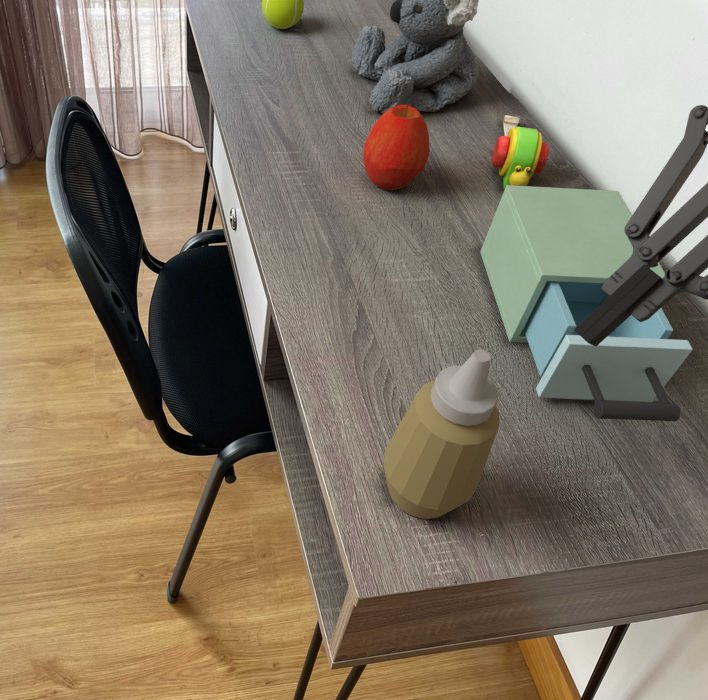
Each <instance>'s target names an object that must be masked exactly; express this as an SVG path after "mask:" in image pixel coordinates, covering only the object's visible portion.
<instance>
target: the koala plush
mask: <svg viewBox="0 0 708 700" xmlns="http://www.w3.org/2000/svg"><path fill="white" fill-rule="evenodd" d="M479 1H480V0H394V2H392V4H391V5H390V9H389V18H390V20H391V21H392V22H394V23H395V24H396V25H397V26H398V28H399V31H400V32H401V33H399V35H398V36H397V37H396V38H394V39H393V40H391V42H390V43H389V44H388V45H387V46H386V36H385V31H384V30H383V28H381V27H379V26H378V25H373V26H372V25H365V26H364V27H363V28H362V29H361V32H360V33H359V36H358V37H357V40H356V42H355V44H354V47H353V49H352V53H351V65H352V67H353V68H354V70H355V71H356V72H357V73H358V76H361V77H364V78H366V79H371V80H373V81H378V82H377V84H376V85H374V88H373V89H372V91H371V92H370V96H369V97H370V98H369V105H370V106H371V109H372V110H373V111H375V112H376V113H378V112H379V113H381V114H382V115H383V114H384V113H385V112H386V111H388V110H389V109H390V108H393V107H395V106H398V105H409V106H411V107H413V108H415V109H416V110H417V111H418V112H419V113H420V112H425V113H429V112H430V113H434V112H438V111H441V109H443V108H445V105H446V106H447V105H452V104H454V103H456V102H457V101H459V100H461V99H462V98H464V97H465V96H466V95H468V93H469V92H470V91H471V90H472V88H473V87H474V85H476V82H477V80H478V74H479V68H478V63H477V59H476V57H475V54H474V52H473V50H472V49H471V47H470V46H469V44H468V40H467V38H466V37H465V35H464V27H465V25H466V23H467V22H469V21H471V22H472V21H473V19H474V17H475V16H476V15H477V13H478V6H479Z"/></svg>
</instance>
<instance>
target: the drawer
mask: <svg viewBox="0 0 708 700" xmlns="http://www.w3.org/2000/svg"><path fill="white" fill-rule="evenodd" d="M602 286H603V284H601V283H580V282H559V281H547V282H546V284H545V286H544V288H543V290H542V292H541V294H540V296H539V298H538V300H537V302H536V304H535V306H534V308H533V310H532V312H531V314H530V316H529V318H528V320H527V322H526V324H525V326H524V328H523V329H524V332H525V335H526V337H527V340H528V343H527V344H528V346H529V348H530V352H531V354H532V357H533V360H534V363H535V366H536V368H537V372H538V374H539V376H540V377H541V378H540V380H539V382H538V383H537V386H536V387H535V391H536V394H537V396H538V398H540V399H562V400H563V399H566V400H589V401H590V400H591V401H594V404H593V407H592V411H593V414H594V417H595V418H596V419H597V420H598V419H600V420H601V419H602V420H624V421H626V420H627V421H650V422H674V423H675V422H678V421H679V420H680V417H681V414H682V413H681V412H682V411H681V407H680V406H679V404H678V403H675V402H671V401H670V399H669V397H668V395H667V393H666V391H665V389H664V388H665V386H666V385H667V384H668V383H669V381H670V380H671V379H672V378H673V376H674V375H675V373H676V372H677V371H678V370H679V368H680V367H681V366H682V364H683V363H684V362H685V360H686V359H687V358H688V357H689V355H690V354H691V352H692V351H693V347H692V345H691V343H690V342H689V340H688V339H674V338H673V339H671V338H670V336H671V335H672V333H673V332H674V329H673V326H672V325H671V323H670V321H669V319H668V318H667V316H666V314H665V311H664V310H663V307H662V308H660V309H659V310H658V311H657V312H656V313H655V314H654V315H653V316H651V317H650V318H649V319H648V320H645V321H643V322H639V321H638V320H637V319H635V318H634V317H633V316H632V315H631V316H629V317H628V318H627V319H626V320H625V321H624V322H623V323H622V324H621V325H620V326H618V327H617V328H616V329H615V330H614V331H613V332H612V333H611V334H610V335H608V336H607V337H606V338H605V339H604V340H603V341H602V342H601V343H600V344H599V345H597V346H593V345H591V344H589V343H588V342H586V341H585V340H584V339H583V338H582V337H581V336H580V335H579V334H578V333H577V332H576V331H575V330H574V329H575V328H576V327H577V326H578V325H579V324H580V323H581V322H582V321H583V320H585V319H586V318H587V317H588V316H589V315H590V314H591V313H592V312H593V311H594V310H595V309H596V308H597V307H599V306H600V305H601V304H602V303H603V302H604V301H605V300H606V299H607V298H608V297H609V295H608V294H607V293H606V292H604V291H603V290H602V289H601V288H602ZM656 398H657V401H658V402H654V400H655V399H656Z"/></svg>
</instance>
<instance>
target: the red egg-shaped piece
mask: <svg viewBox="0 0 708 700" xmlns="http://www.w3.org/2000/svg"><path fill="white" fill-rule="evenodd" d="M362 154H363V155H362V161H363V166H364V170H365V172H366V174H367V177H368V178H369V181H370V182H371V183H372V184H373V185H375V187H377V188H380V189H383V190H387V191H388V190H399V189H402V188H405V187H406V186H408V184H410V183H411V182H412V181H413V180H414V179H415V178H416V177H418V176H419V175H420V174H421V173H423V171H424V170H425V167H426V165H427V163H428V161H429V157H430V134H429V130H428V126H427V123H426V120H425V118H424V117H423V115H422V114H421V113H420V112H418V111H417V110H416V109H415V108H413V107H411V106H409V105H398V106H395V107H393V108H390V109H389V110H388V111H386V112H385V113H384V114H383V113H382V115H380V117H379V118H378V119H377V120H376V121H375V122H374V124H373V126H372V128H371V129H370V132H369V134H368V136H367V137H366V141H365V142H364V145H363V153H362Z"/></svg>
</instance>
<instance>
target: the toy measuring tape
mask: <svg viewBox="0 0 708 700" xmlns="http://www.w3.org/2000/svg"><path fill="white" fill-rule="evenodd" d="M519 123H520V117H518V116H513V115H508V114H505V115H504V117H503V121H502V126H503V132H504V135H501V136H499V137H498V138H497V139H496V141H495V144H494V147H493V151H492V155H491V166H493V167H495V168H498V174H499V176H501V177H502V186H503V187H502V189H503V191H504V190H505V188H506V185H513V186H528V184H529V183H530V179H532V177H533V176H534V174H536V175H537V174H540V173H542V172H543V170H544V169H545V166H546V164H547V160H548V158H549V154H550V146H549V144H548V143H547V142H545V141H543V135H542V132H540V131H538V129H536V128H531V127H524V126H518V125H519Z"/></svg>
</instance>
